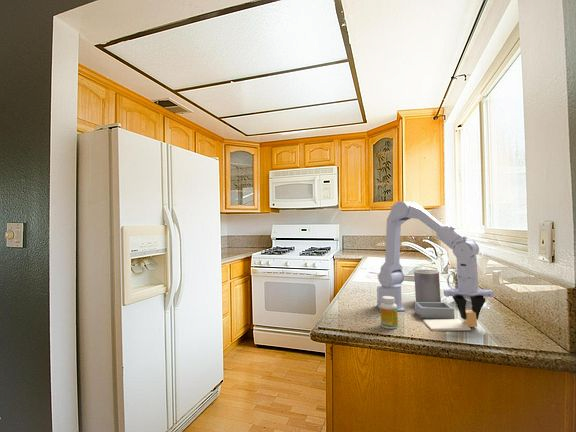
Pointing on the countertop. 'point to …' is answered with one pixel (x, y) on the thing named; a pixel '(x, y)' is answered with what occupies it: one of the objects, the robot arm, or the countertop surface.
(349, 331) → the countertop surface
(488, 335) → the countertop surface
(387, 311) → the supplement bottle
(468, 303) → the french press
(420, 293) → the pillar candle
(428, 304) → the tub
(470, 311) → the lid
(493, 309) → the countertop surface
